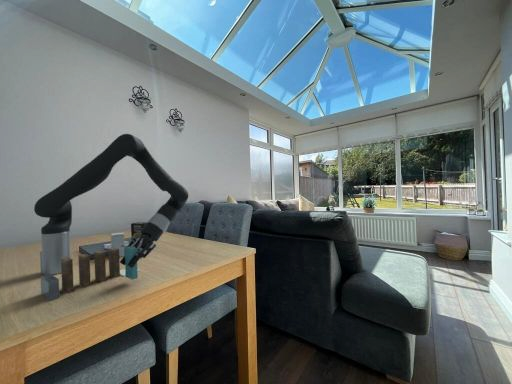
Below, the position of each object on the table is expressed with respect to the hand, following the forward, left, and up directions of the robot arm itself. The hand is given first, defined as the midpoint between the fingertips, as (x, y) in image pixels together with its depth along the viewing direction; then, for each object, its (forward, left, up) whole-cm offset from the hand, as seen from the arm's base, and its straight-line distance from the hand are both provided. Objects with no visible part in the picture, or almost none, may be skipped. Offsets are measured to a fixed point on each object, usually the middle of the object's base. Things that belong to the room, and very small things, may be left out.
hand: (125, 264), depth 80 cm
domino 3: (-13, +4, -7) cm, 16 cm away
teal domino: (+1, +2, -5) cm, 6 cm away
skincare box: (-29, +36, -7) cm, 47 cm away
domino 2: (-16, 0, -7) cm, 18 cm away
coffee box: (-24, +48, -7) cm, 54 cm away
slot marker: (-9, +13, -7) cm, 17 cm away
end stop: (-21, -8, -7) cm, 24 cm away
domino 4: (-11, +9, -7) cm, 16 cm away
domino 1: (-18, -4, -7) cm, 20 cm away
